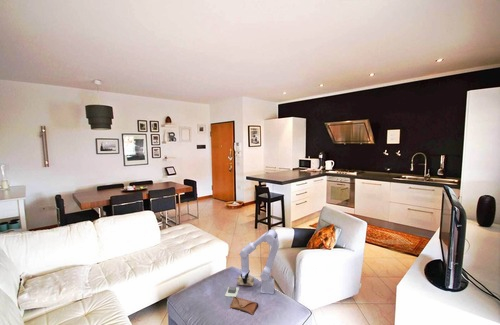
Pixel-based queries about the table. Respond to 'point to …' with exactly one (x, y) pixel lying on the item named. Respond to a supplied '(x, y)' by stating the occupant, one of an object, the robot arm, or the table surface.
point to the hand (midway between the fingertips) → (245, 281)
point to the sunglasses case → (244, 305)
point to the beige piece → (249, 280)
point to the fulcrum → (231, 292)
